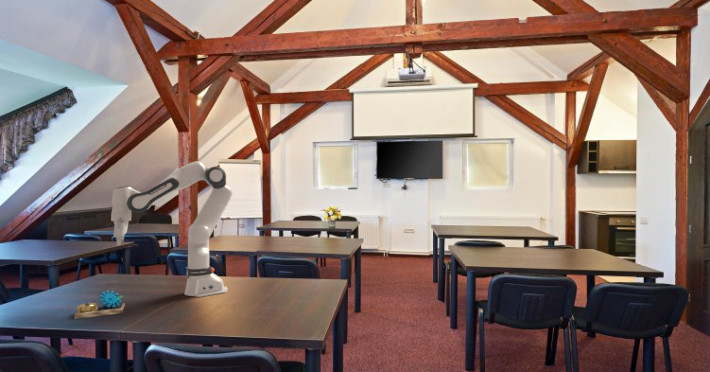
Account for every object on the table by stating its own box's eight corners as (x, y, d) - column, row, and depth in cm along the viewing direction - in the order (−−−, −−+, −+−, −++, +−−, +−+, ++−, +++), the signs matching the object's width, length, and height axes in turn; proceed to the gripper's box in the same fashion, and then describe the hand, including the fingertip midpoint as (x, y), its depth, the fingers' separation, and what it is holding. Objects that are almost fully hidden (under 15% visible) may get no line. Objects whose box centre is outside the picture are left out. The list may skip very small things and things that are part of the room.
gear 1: (98, 308, 178) (98, 299, 178) (95, 312, 171) (95, 303, 171) (79, 310, 175) (79, 301, 175) (75, 315, 168) (75, 305, 168)
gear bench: (124, 305, 184) (124, 301, 184) (121, 313, 173) (121, 308, 173) (80, 310, 176) (80, 306, 176) (74, 318, 165) (74, 314, 165)
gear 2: (104, 307, 176) (97, 290, 180) (97, 315, 178) (91, 298, 182) (127, 304, 186) (120, 288, 190) (120, 311, 187) (113, 295, 191)
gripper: (126, 218, 186) (124, 246, 186) (130, 216, 204) (129, 241, 204) (111, 218, 183) (109, 247, 183) (116, 216, 202) (115, 241, 201)
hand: (120, 244), depth 194 cm, fingers open, 8 cm apart
